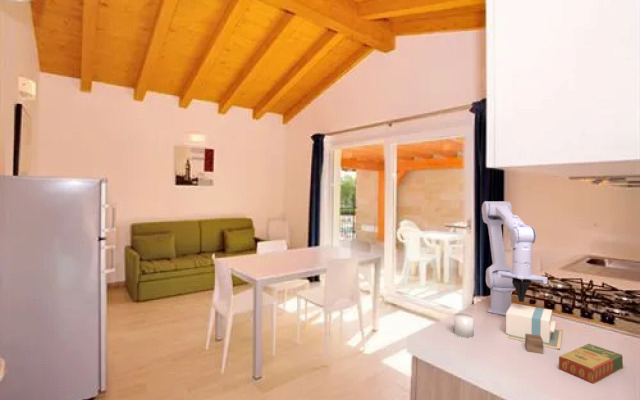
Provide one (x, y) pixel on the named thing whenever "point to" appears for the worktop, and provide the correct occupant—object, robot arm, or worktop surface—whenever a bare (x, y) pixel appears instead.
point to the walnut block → (534, 343)
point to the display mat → (553, 343)
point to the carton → (591, 363)
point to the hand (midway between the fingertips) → (521, 301)
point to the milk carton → (529, 321)
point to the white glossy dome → (464, 325)
